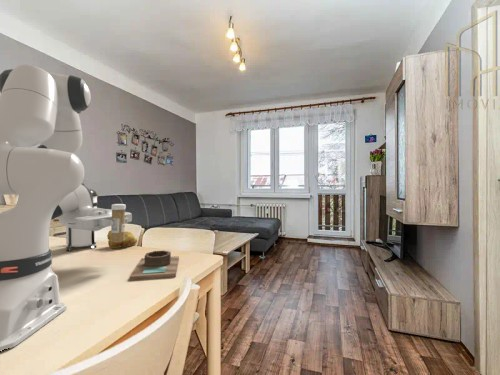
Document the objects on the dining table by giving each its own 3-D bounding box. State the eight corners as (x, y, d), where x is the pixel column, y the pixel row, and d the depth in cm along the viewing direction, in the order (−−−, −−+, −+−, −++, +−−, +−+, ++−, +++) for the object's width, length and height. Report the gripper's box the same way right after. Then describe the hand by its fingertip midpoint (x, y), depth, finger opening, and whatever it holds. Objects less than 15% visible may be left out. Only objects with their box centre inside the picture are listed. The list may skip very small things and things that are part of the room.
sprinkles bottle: (127, 241, 91) (128, 204, 91) (114, 243, 87) (115, 204, 88) (120, 239, 94) (121, 203, 94) (108, 241, 90) (109, 204, 90)
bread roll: (136, 242, 127) (136, 227, 126) (138, 247, 118) (138, 230, 118) (107, 245, 120) (107, 229, 120) (107, 250, 112) (107, 233, 112)
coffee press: (109, 244, 123) (109, 183, 122) (78, 253, 107) (78, 183, 107) (83, 241, 128) (83, 183, 127) (50, 249, 113) (49, 183, 112)
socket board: (175, 276, 82) (175, 262, 82) (129, 280, 79) (129, 265, 79) (178, 259, 100) (178, 247, 100) (141, 261, 97) (141, 249, 97)
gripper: (65, 214, 86) (92, 216, 81) (116, 208, 105) (141, 210, 100) (65, 232, 86) (92, 235, 81) (116, 223, 105) (141, 225, 100)
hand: (120, 221), depth 90 cm, fingers closed on sprinkles bottle, 4 cm apart
